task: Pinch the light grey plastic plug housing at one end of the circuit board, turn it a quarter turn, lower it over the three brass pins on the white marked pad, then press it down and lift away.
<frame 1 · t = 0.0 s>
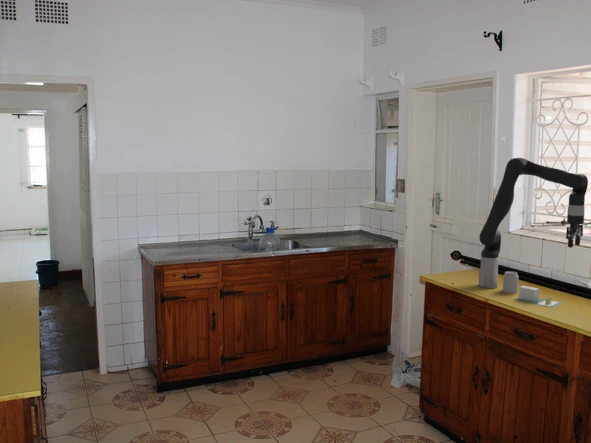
hand: (573, 246, 278), 29 cm above the counter, tool pointing down, fingers open, 8 cm apart
can: (510, 294, 300), on the counter
plug housing: (528, 299, 284), point 1 cm above the counter, touching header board
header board: (538, 304, 280), on the counter
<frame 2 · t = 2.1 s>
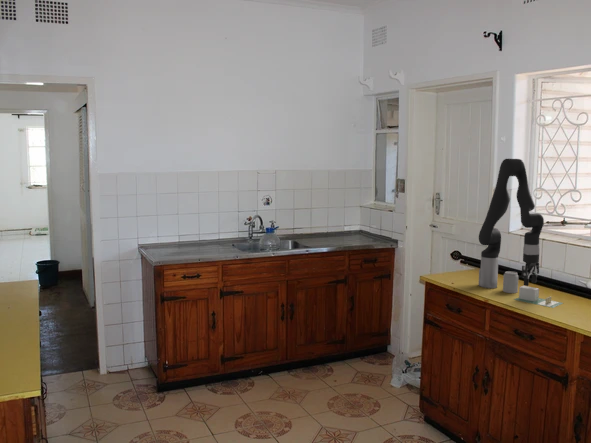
hand: (530, 284, 282), 9 cm above the counter, tool pointing down, fingers open, 8 cm apart
nothing on the counter moved.
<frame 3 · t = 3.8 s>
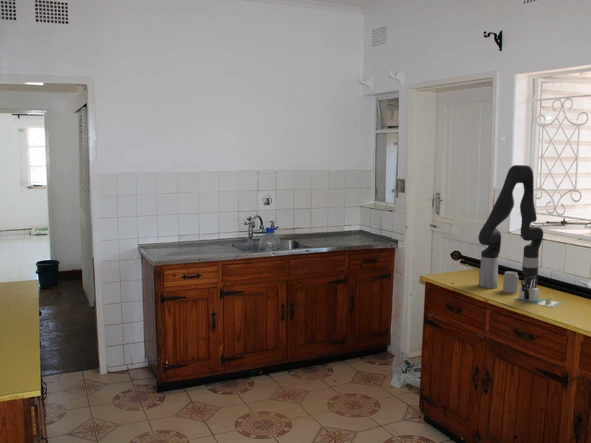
hand: (528, 298, 284), 2 cm above the counter, tool pointing down, fingers closed on plug housing, 4 cm apart
plug housing: (528, 299, 284), point 2 cm above the counter, touching gripper, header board
everything else where it was.
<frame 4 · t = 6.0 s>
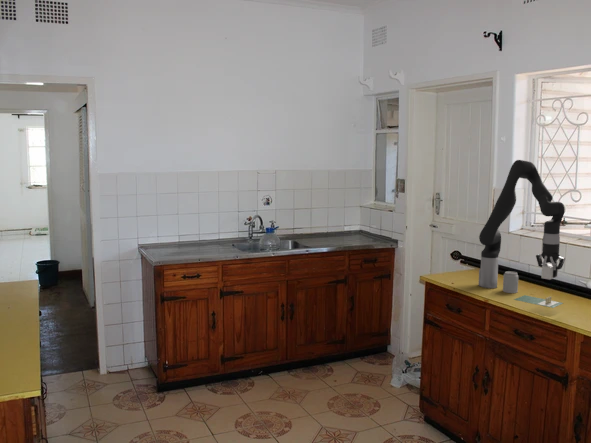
hand: (549, 276, 274), 15 cm above the counter, tool pointing down, fingers closed on plug housing, 4 cm apart
plug housing: (549, 277, 274), point 15 cm above the counter, touching gripper
everything else where it was.
when the fingers open (2 cm above the counter, at t = 8.6 s): plug housing stays where it is, resting on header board.
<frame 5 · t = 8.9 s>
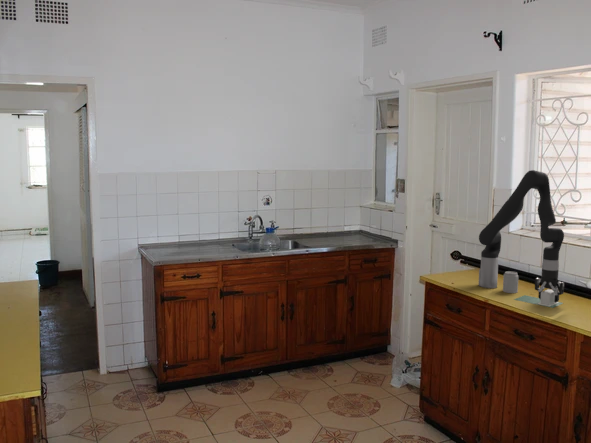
hand: (548, 300, 276), 3 cm above the counter, tool pointing down, fingers open, 7 cm apart
plug housing: (548, 303, 276), point 2 cm above the counter, touching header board
everything else where it was.
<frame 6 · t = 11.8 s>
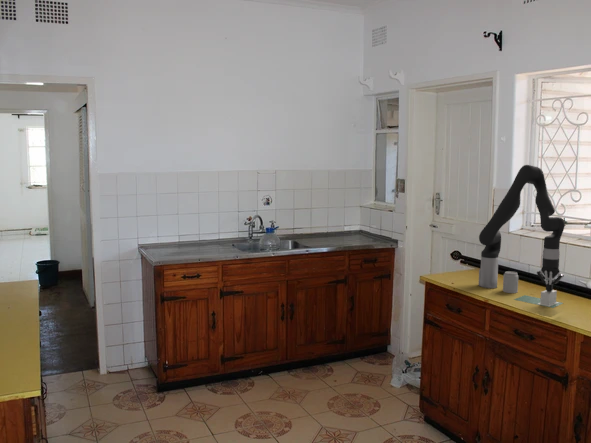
hand: (549, 291, 275), 8 cm above the counter, tool pointing down, fingers closed
plug housing: (548, 303, 276), point 2 cm above the counter, touching gripper, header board
everything else where it was.
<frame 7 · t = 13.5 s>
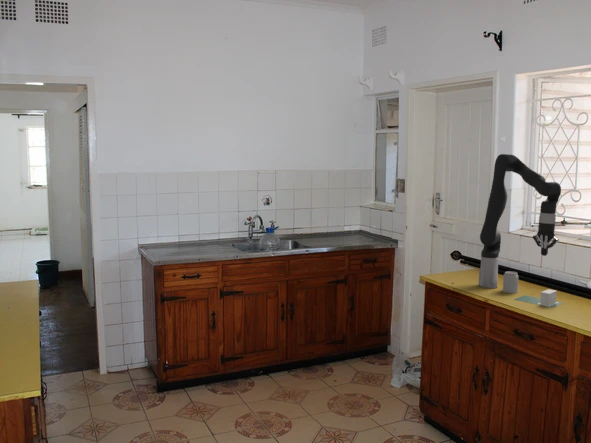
hand: (544, 255, 281), 24 cm above the counter, tool pointing down, fingers closed
plug housing: (548, 303, 276), point 2 cm above the counter, touching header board
everything else where it was.
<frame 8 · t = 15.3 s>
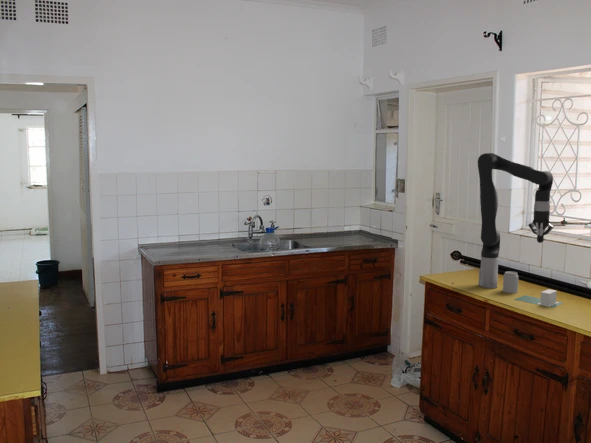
hand: (540, 242, 291), 29 cm above the counter, tool pointing down, fingers closed
nothing on the counter moved.
at the end: plug housing 0.0 cm from the target spot on the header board, point 1.6 cm above the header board's base; plug housing tilted 0°; the gripper is holding nothing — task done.
